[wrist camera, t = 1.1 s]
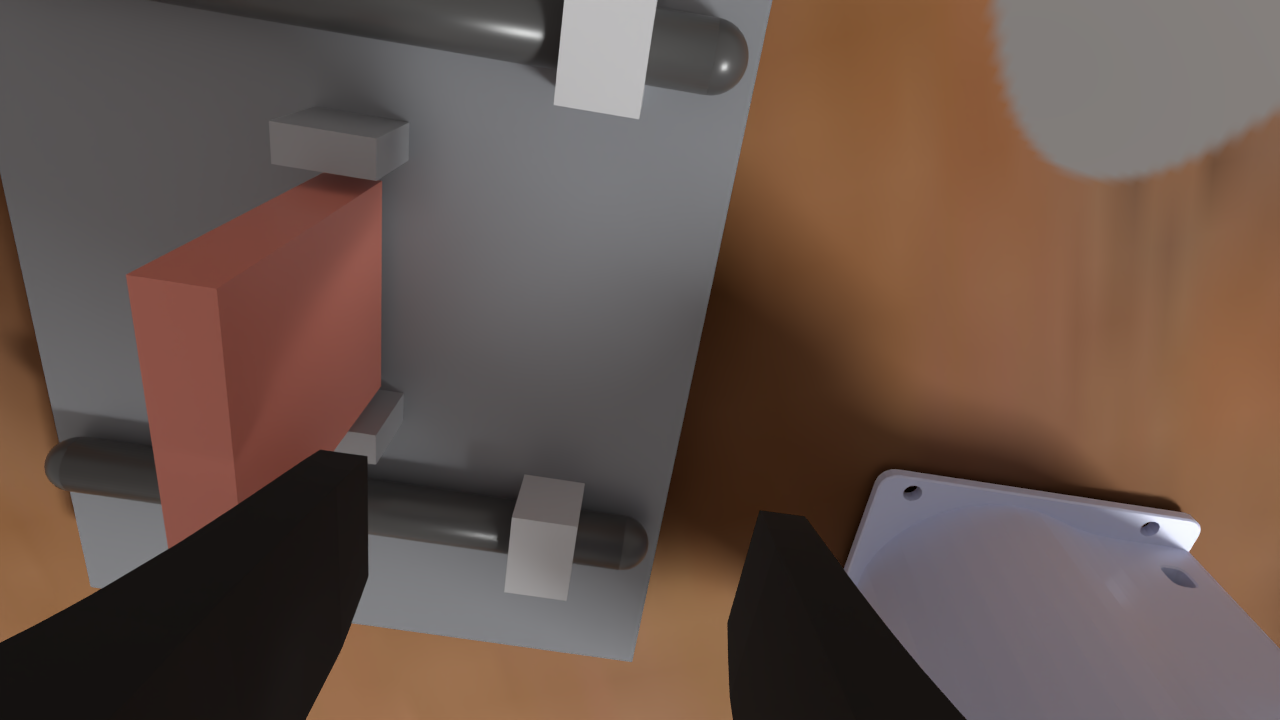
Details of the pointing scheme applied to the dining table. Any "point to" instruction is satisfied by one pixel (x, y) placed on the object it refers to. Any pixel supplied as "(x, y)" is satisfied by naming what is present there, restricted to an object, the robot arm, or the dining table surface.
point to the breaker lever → (259, 344)
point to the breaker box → (405, 264)
